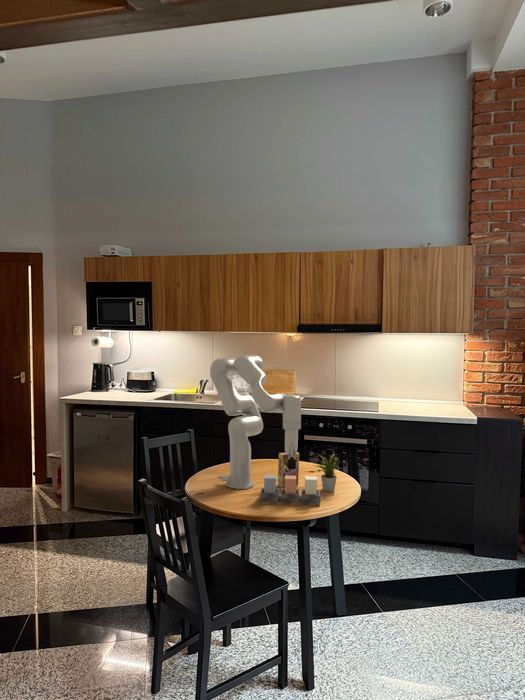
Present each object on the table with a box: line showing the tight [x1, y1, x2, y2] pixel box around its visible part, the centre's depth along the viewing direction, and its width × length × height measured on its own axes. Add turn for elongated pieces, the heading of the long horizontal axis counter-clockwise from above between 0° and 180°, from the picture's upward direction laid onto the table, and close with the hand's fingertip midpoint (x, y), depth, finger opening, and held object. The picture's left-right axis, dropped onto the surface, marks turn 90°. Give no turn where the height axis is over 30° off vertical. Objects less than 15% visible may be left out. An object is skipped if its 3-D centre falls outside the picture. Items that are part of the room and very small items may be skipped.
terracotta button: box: [284, 475, 297, 494], centre depth 209 cm, size 5×5×7 cm
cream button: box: [304, 475, 318, 495], centre depth 209 cm, size 5×5×7 cm
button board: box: [259, 487, 321, 507], centre depth 209 cm, size 25×10×4 cm, turn 87°
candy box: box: [277, 451, 300, 488], centre depth 230 cm, size 9×4×15 cm, turn 115°
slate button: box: [263, 474, 277, 493], centre depth 210 cm, size 5×5×7 cm
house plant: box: [313, 453, 343, 493], centre depth 226 cm, size 14×14×16 cm
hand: (291, 468), depth 209 cm, fingers closed
